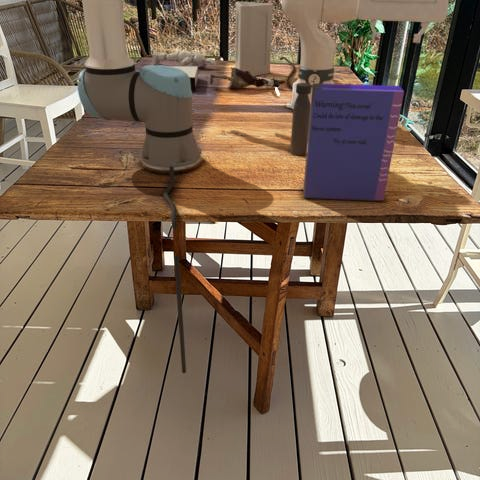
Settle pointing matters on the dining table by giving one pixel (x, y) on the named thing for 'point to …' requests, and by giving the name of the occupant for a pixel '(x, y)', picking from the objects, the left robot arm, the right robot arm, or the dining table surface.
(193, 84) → the disc drive
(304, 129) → the bottle
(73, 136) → the dining table surface
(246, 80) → the figurine
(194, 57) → the toy
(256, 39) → the paper bag
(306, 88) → the cap
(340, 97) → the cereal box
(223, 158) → the dining table surface
